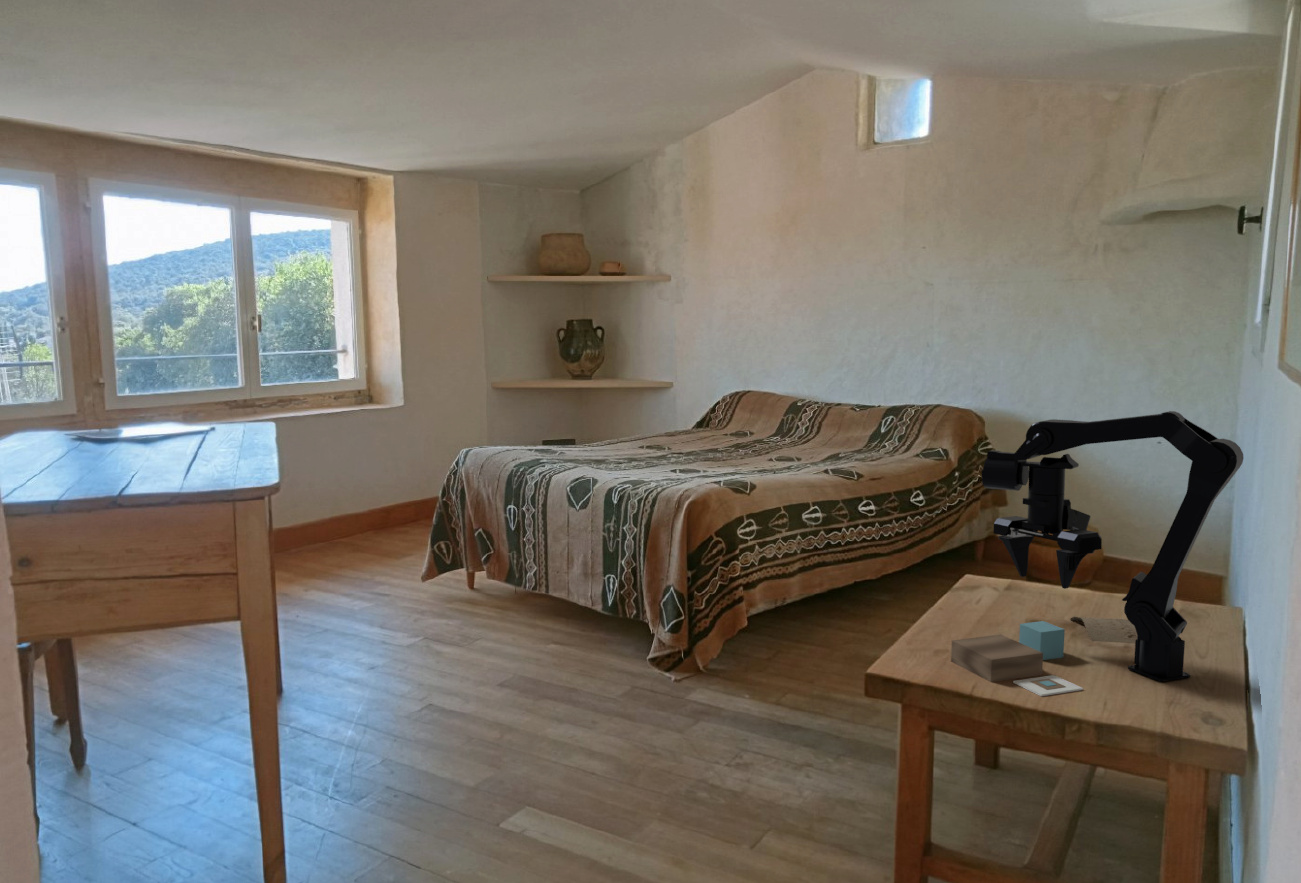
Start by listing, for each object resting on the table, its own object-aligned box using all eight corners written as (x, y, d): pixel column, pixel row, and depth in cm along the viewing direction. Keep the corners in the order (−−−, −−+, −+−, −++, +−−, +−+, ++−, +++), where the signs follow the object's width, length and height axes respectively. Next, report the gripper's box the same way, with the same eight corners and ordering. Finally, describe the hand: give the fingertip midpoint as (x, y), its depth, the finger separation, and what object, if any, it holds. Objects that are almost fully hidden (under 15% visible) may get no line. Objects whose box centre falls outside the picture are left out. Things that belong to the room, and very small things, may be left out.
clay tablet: (1067, 622, 178) (1068, 608, 178) (1122, 624, 176) (1123, 610, 176) (1092, 646, 164) (1093, 631, 163) (1152, 648, 162) (1153, 634, 162)
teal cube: (1063, 657, 156) (1064, 629, 155) (1039, 661, 154) (1041, 632, 154) (1041, 648, 161) (1043, 621, 160) (1018, 651, 159) (1019, 623, 159)
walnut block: (1042, 677, 148) (1043, 653, 147) (990, 684, 145) (991, 659, 144) (1000, 657, 157) (1000, 634, 157) (950, 663, 154) (951, 640, 154)
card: (1082, 689, 141) (1083, 686, 141) (1041, 696, 138) (1041, 693, 138) (1053, 676, 147) (1054, 673, 147) (1013, 682, 144) (1013, 679, 144)
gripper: (1127, 497, 152) (1123, 589, 153) (1038, 483, 169) (1036, 566, 170) (1078, 502, 147) (1075, 597, 149) (992, 487, 164) (990, 572, 166)
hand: (1043, 582), depth 159 cm, fingers open, 9 cm apart
